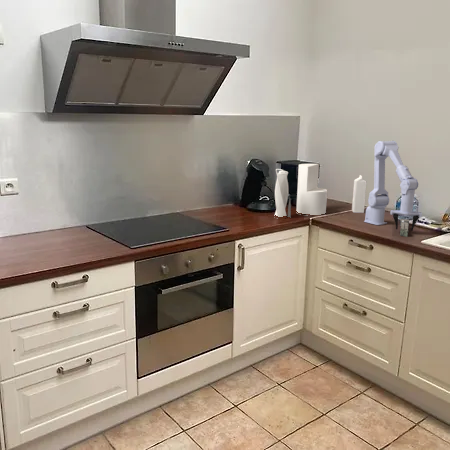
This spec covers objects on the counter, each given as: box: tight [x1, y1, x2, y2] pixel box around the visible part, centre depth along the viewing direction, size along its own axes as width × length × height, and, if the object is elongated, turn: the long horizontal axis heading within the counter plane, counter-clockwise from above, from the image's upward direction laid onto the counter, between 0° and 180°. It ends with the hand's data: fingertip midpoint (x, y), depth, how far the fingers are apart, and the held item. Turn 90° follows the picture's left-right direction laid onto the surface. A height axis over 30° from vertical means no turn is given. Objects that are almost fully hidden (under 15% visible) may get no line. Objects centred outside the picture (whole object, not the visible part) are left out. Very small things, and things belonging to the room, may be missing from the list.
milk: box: [351, 174, 367, 214], centre depth 273 cm, size 6×6×22 cm
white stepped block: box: [296, 163, 328, 216], centre depth 269 cm, size 17×17×28 cm
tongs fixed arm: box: [399, 218, 410, 237], centre depth 234 cm, size 24×4×3 cm, turn 159°
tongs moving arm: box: [399, 222, 407, 237], centre depth 232 cm, size 21×3×2 cm, turn 159°
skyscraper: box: [274, 168, 292, 218], centre depth 256 cm, size 8×8×28 cm
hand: (404, 229), depth 229 cm, fingers open, 6 cm apart
